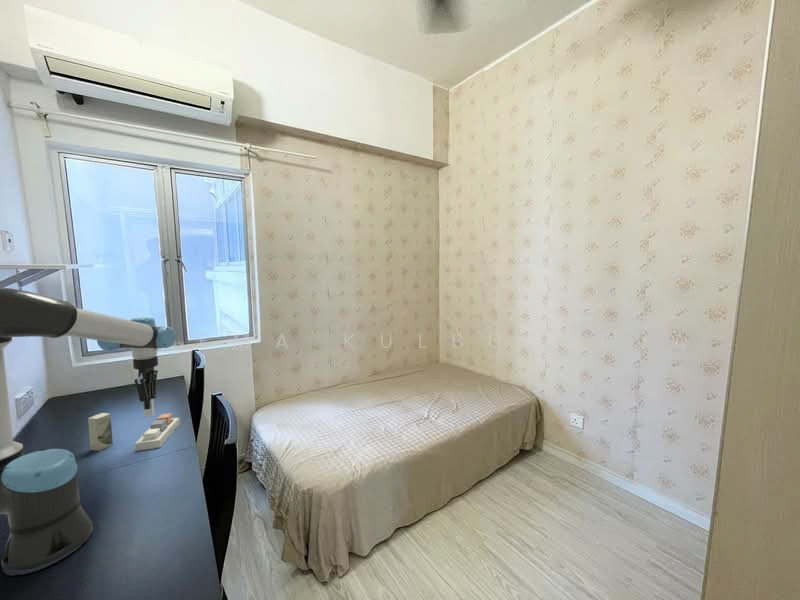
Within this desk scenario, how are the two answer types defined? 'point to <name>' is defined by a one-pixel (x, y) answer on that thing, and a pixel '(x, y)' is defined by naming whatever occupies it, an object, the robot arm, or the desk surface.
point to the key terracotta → (165, 417)
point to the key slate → (159, 424)
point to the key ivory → (151, 434)
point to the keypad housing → (161, 439)
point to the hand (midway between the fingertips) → (149, 415)
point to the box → (100, 431)
